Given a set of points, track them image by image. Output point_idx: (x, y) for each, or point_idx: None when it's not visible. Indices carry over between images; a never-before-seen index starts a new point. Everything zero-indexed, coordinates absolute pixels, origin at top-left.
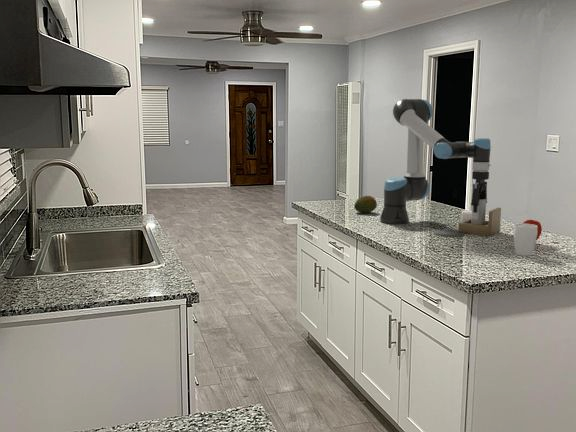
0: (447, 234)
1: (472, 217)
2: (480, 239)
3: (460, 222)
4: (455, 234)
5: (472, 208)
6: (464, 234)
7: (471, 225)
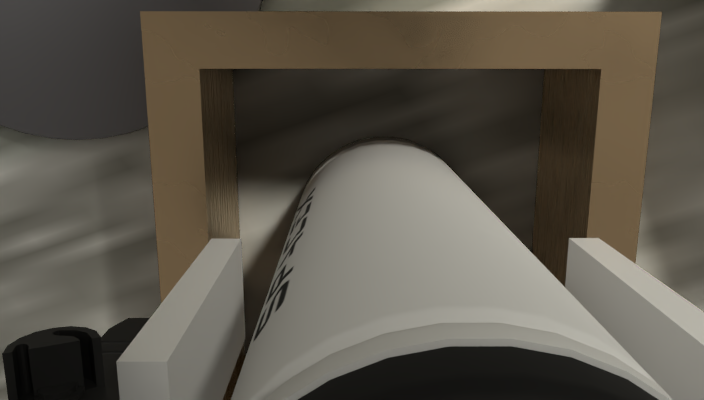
0: None
1: (204, 250)
2: (2, 371)
3: (214, 14)
4: (8, 43)
5: (308, 255)
6: (123, 133)
7: (161, 227)
